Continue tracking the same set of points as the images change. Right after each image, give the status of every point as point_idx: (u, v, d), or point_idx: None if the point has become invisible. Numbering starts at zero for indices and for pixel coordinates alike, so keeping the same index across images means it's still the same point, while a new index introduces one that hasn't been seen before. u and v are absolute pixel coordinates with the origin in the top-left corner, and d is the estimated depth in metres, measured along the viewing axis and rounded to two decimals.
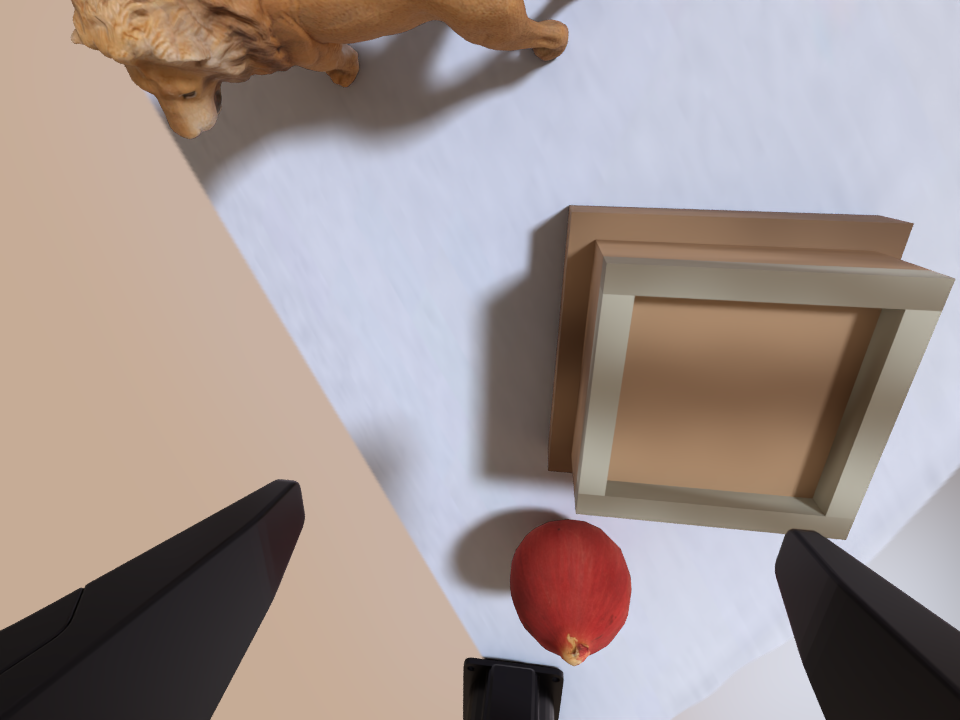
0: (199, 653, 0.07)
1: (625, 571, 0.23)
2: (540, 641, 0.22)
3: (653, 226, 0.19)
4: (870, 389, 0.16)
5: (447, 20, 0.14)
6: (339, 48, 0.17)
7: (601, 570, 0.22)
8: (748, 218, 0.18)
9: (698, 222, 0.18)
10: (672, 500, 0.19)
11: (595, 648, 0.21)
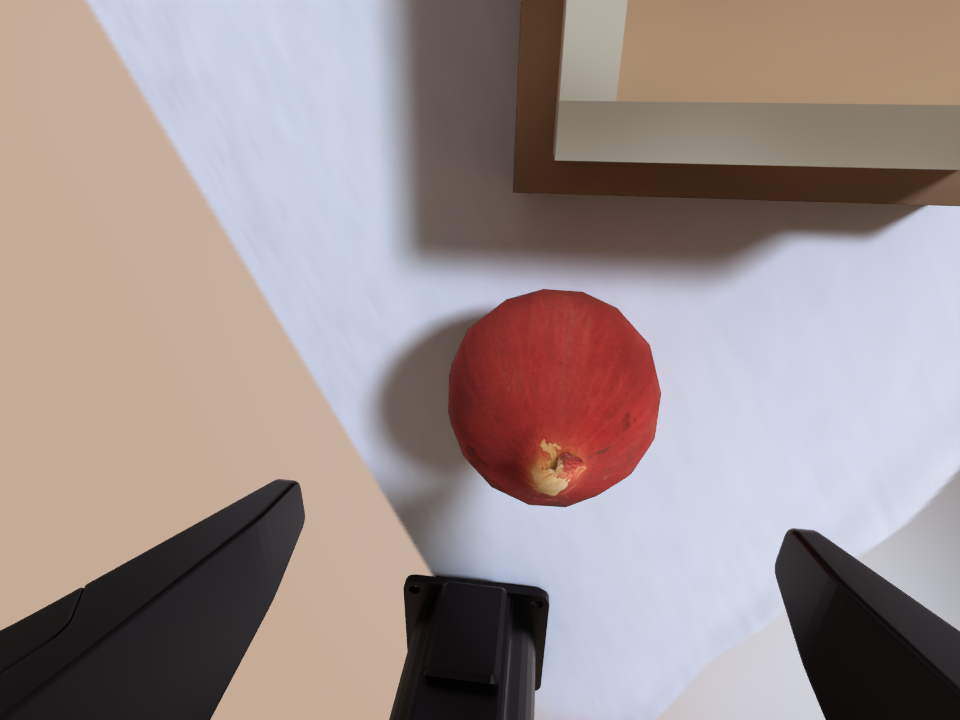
0: (199, 653, 0.07)
1: (650, 354, 0.13)
2: (493, 471, 0.12)
3: None
4: None
5: None
6: None
7: (608, 337, 0.12)
8: None
9: None
10: (764, 103, 0.09)
11: (596, 476, 0.11)
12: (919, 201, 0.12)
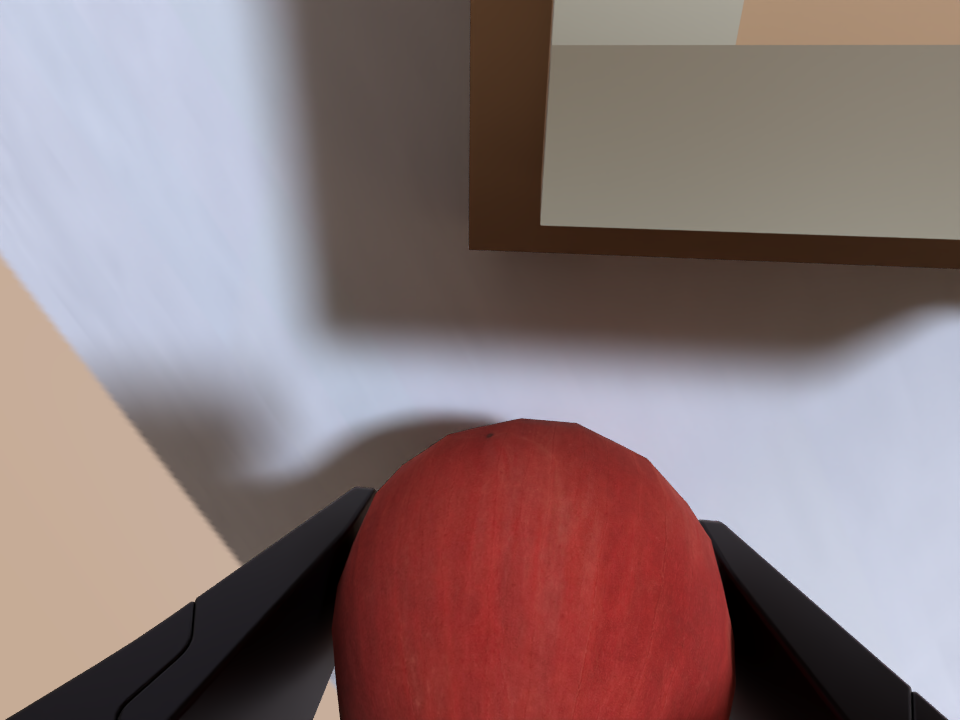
0: (301, 667, 0.07)
1: (717, 575, 0.06)
2: None
3: None
4: None
5: None
6: None
7: (635, 572, 0.06)
8: None
9: None
10: None
11: None
12: None
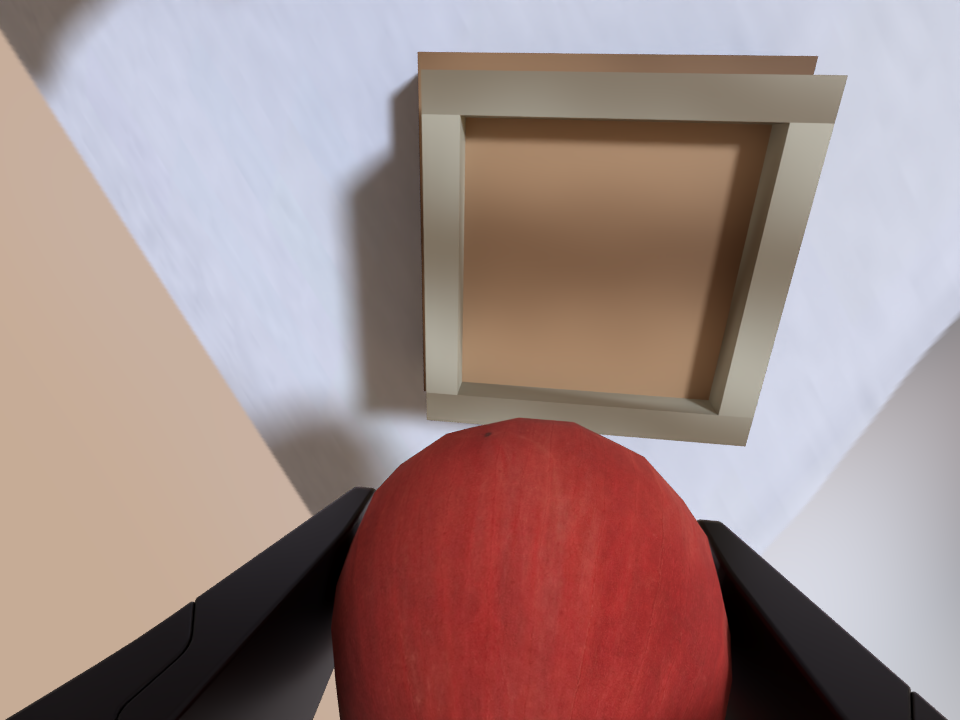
0: (301, 667, 0.07)
1: (714, 571, 0.06)
2: None
3: (514, 69, 0.16)
4: (757, 240, 0.13)
5: None
6: None
7: (633, 569, 0.06)
8: (624, 55, 0.15)
9: (566, 61, 0.15)
10: (537, 399, 0.16)
11: None
12: None
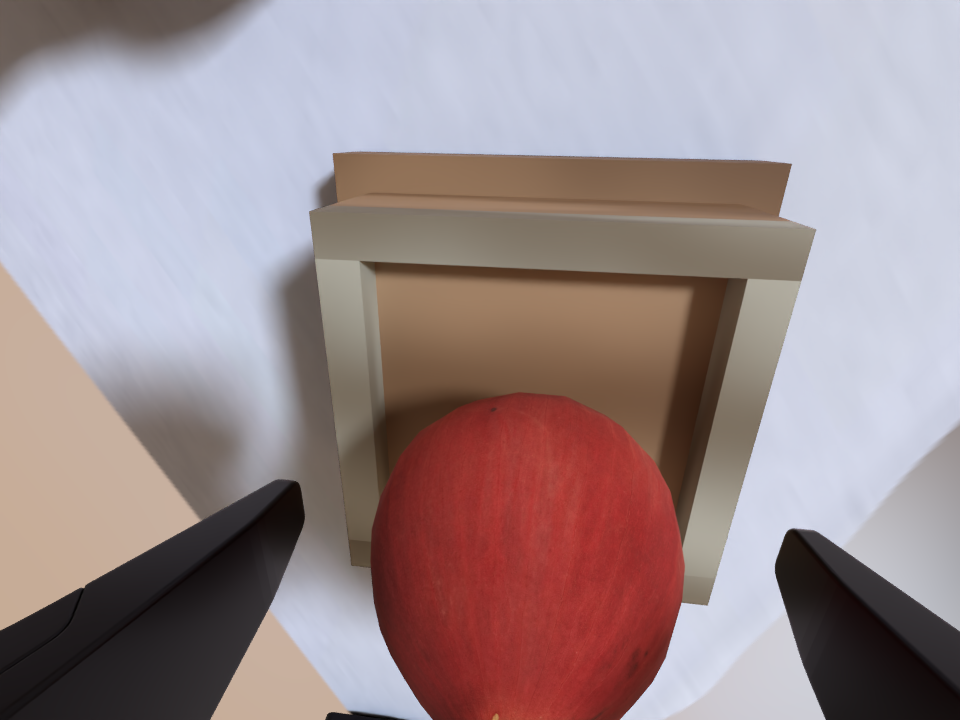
0: (199, 653, 0.07)
1: (672, 518, 0.08)
2: (427, 711, 0.08)
3: (443, 173, 0.14)
4: (715, 398, 0.11)
5: None
6: None
7: (607, 518, 0.07)
8: (567, 159, 0.13)
9: (501, 165, 0.13)
10: None
11: None
12: None
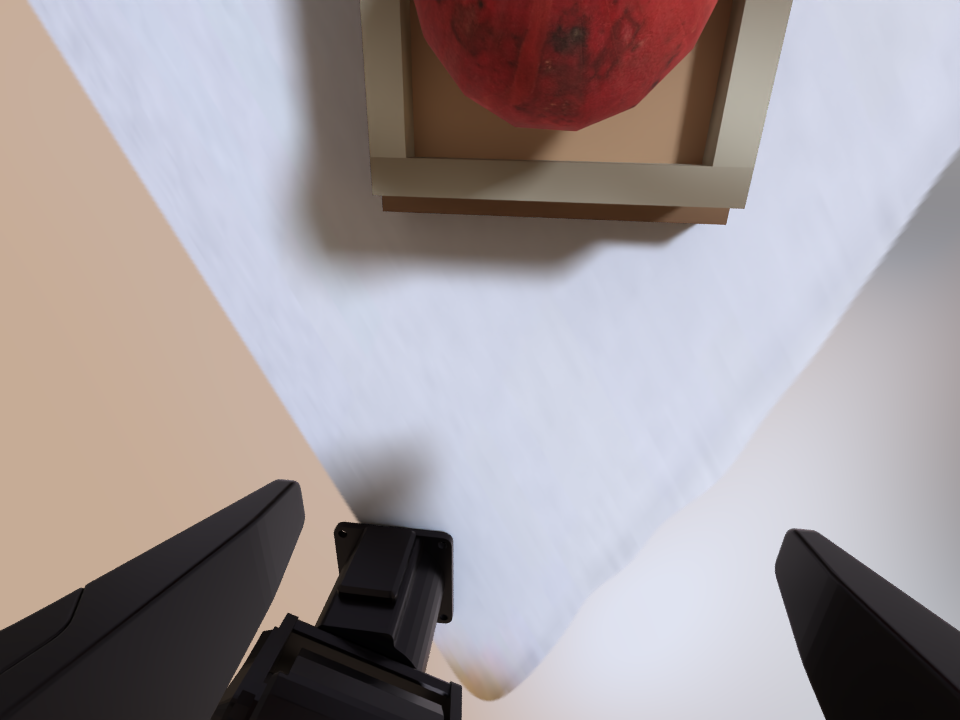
0: (199, 653, 0.07)
1: None
2: None
3: None
4: None
5: None
6: None
7: None
8: None
9: None
10: (499, 160, 0.13)
11: None
12: (670, 220, 0.17)
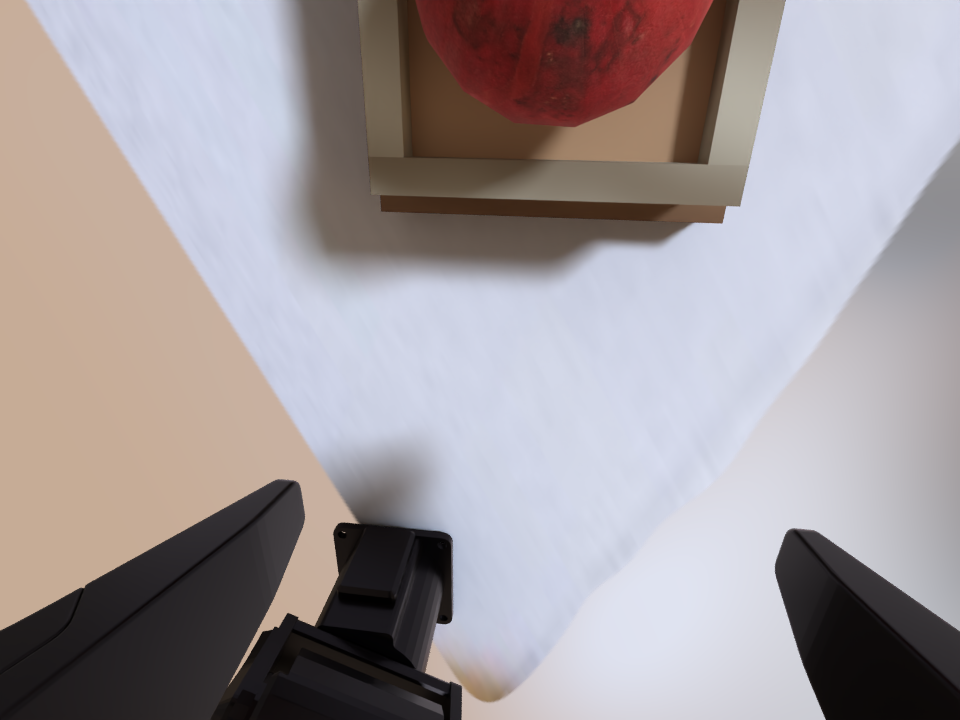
0: (199, 653, 0.07)
1: None
2: None
3: None
4: None
5: None
6: None
7: None
8: None
9: None
10: (497, 159, 0.13)
11: None
12: (667, 219, 0.17)
